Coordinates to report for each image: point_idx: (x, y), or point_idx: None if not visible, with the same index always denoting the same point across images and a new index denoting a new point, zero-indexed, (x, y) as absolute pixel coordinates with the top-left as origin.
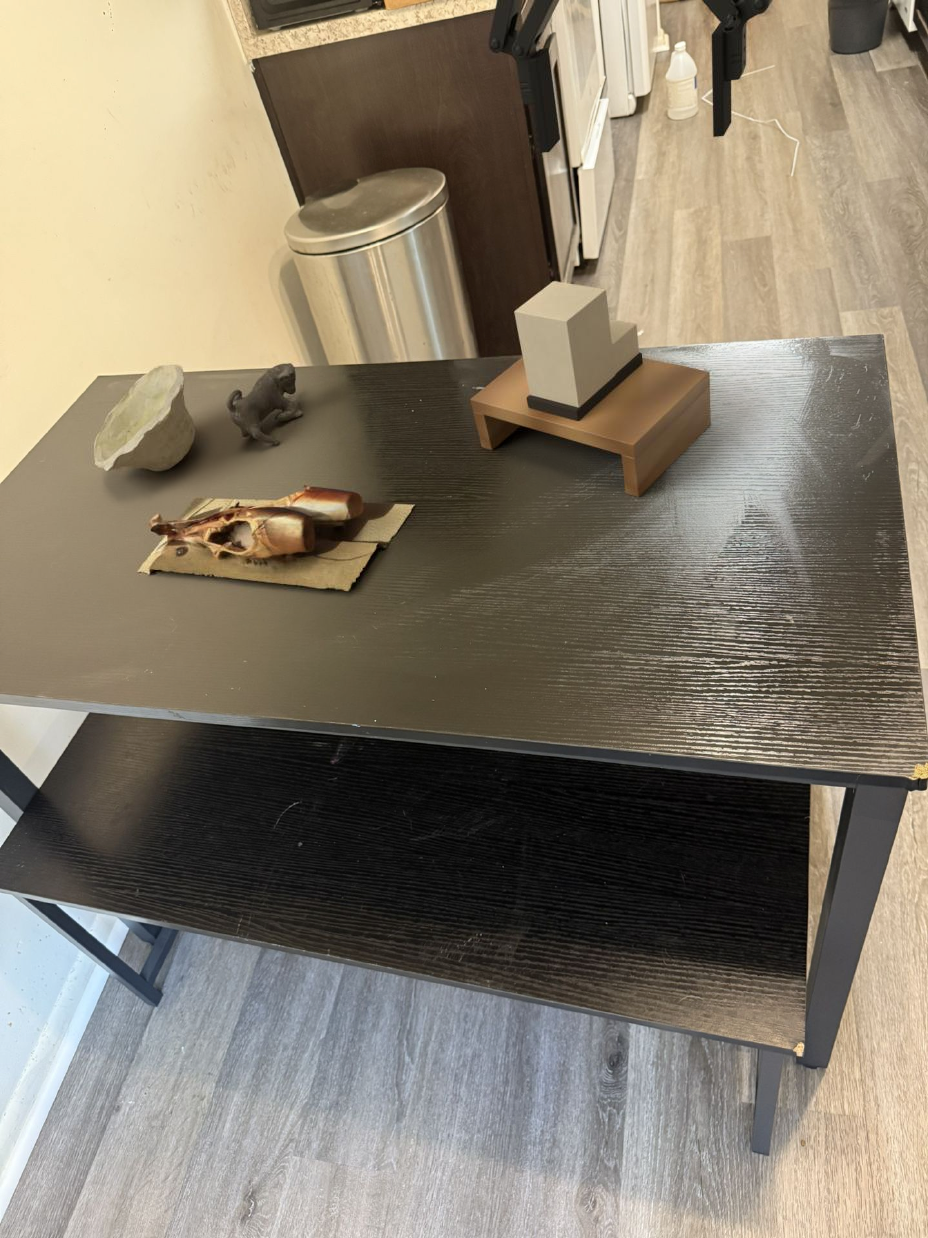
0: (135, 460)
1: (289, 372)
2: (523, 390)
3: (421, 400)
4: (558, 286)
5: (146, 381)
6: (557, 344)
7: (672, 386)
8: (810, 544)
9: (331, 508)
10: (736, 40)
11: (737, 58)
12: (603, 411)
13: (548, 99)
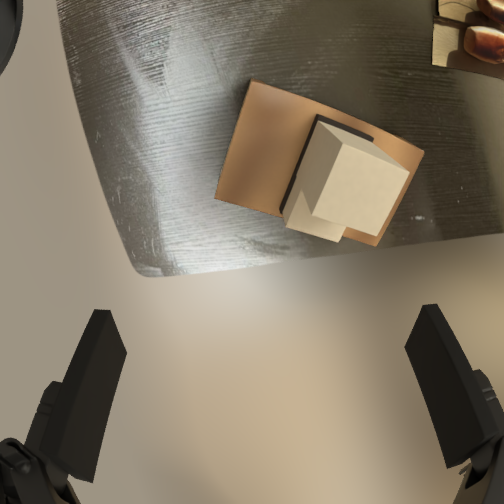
0: None
1: None
2: None
3: (457, 201)
4: (369, 223)
5: None
6: (350, 141)
7: (241, 173)
8: (114, 57)
9: (482, 28)
10: (37, 434)
11: (43, 408)
12: (296, 130)
13: (440, 386)
